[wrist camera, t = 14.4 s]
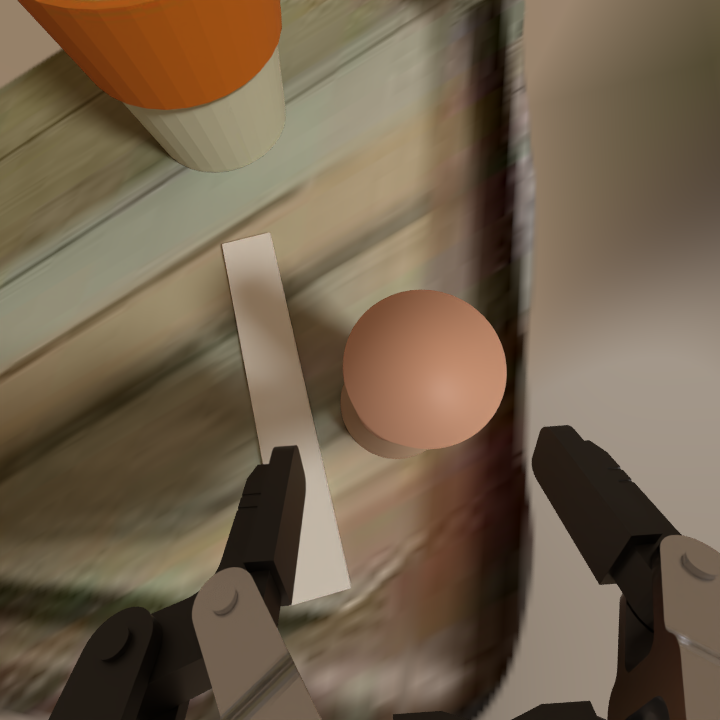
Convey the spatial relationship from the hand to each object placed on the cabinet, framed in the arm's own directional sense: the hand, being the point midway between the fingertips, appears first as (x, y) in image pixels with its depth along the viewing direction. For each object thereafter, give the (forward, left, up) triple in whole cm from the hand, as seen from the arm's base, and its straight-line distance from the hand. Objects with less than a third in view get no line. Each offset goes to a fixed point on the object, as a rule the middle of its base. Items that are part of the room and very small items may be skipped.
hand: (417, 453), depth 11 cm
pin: (0, +2, -6) cm, 7 cm away
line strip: (-6, +4, -6) cm, 10 cm away
